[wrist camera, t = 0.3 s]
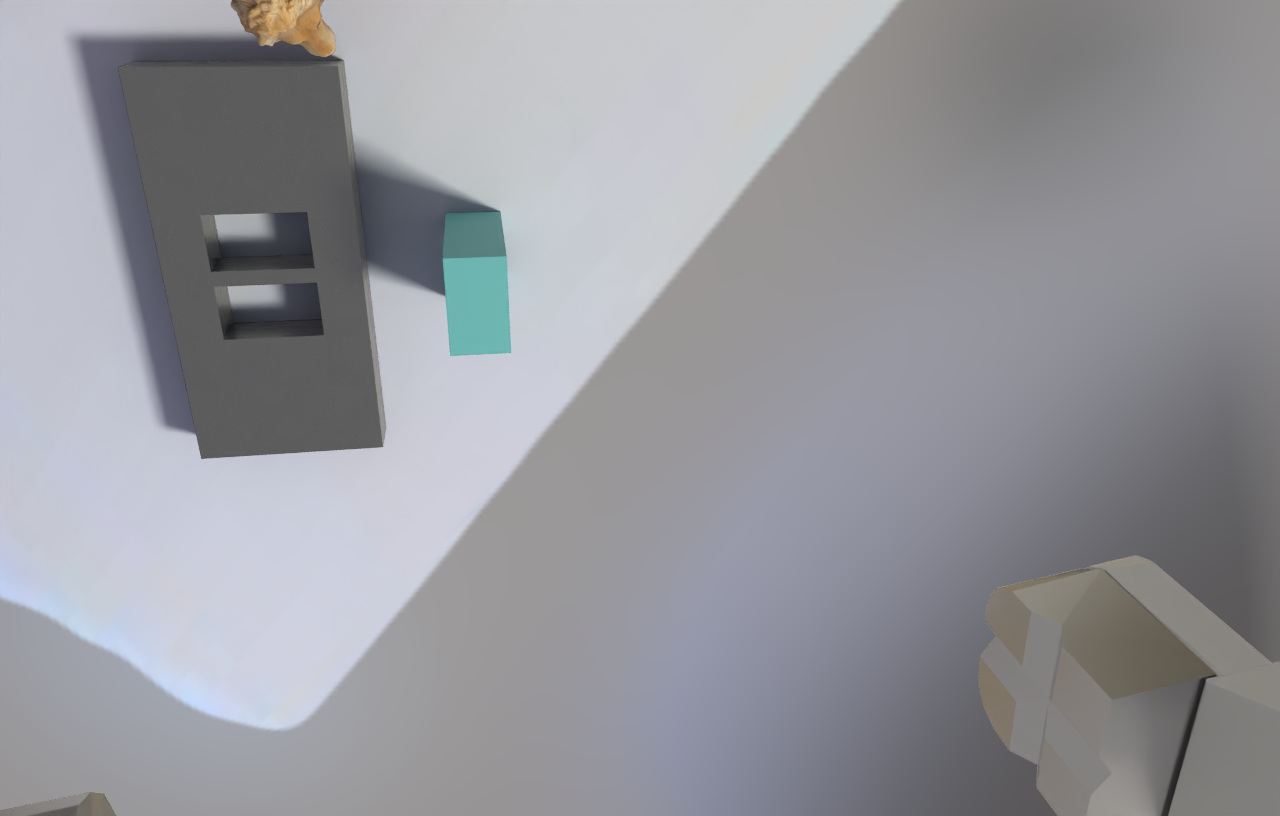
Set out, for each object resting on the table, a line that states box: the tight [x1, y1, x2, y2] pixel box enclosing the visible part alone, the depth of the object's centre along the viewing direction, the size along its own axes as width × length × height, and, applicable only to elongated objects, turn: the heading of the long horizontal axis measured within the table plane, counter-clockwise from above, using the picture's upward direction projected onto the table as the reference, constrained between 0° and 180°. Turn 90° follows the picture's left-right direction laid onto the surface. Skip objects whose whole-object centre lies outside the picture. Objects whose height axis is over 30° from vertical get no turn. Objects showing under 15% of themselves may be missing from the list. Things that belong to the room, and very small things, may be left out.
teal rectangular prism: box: [443, 211, 511, 356], centre depth 51 cm, size 5×3×8 cm, turn 179°
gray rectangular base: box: [118, 60, 386, 459], centre depth 52 cm, size 21×10×2 cm, turn 179°
